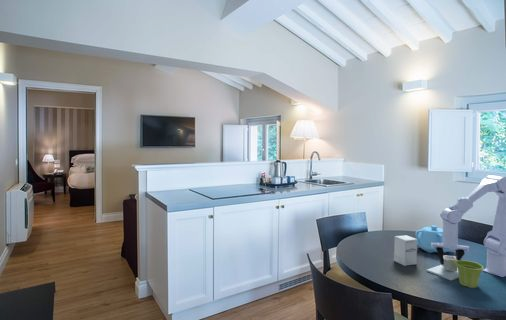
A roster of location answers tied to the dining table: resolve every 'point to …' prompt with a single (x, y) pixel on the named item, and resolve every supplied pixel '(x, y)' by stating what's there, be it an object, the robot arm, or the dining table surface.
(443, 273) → the duct plate
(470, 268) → the plant pot
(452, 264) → the white boxy piece
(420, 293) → the dining table surface
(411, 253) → the supplement box
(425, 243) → the decorative pot
